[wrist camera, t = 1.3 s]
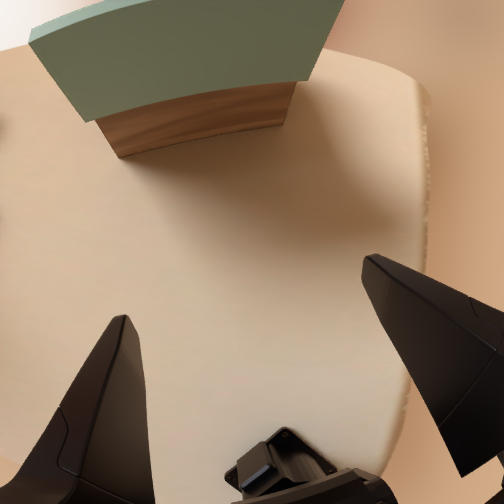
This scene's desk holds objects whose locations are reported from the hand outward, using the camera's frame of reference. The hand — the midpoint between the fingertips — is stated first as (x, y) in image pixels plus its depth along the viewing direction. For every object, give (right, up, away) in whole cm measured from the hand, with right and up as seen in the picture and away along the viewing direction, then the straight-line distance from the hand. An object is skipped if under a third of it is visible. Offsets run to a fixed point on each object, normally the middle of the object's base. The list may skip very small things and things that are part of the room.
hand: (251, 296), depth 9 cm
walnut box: (-5, +14, +16) cm, 22 cm away
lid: (-3, +12, +4) cm, 13 cm away
